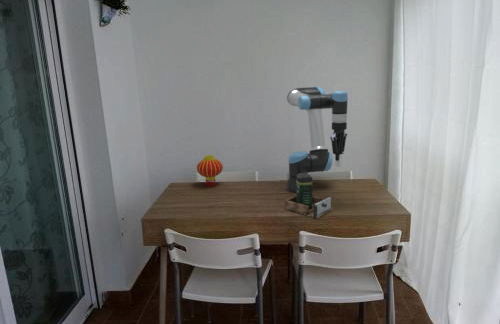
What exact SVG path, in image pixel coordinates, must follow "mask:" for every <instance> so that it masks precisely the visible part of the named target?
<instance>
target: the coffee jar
mask: <svg viewBox="0 0 500 324" xmlns="http://www.w3.org/2000/svg"><path fill="white" fill-rule="evenodd" d="M296 184H297V192H296V195H297V198H296V203H299V204H302V205H306V206H309V209H311V208H312V196H313V177H312V175H310V174H309V173H308V174H307V173H299V174H297V176H296Z"/></svg>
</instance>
